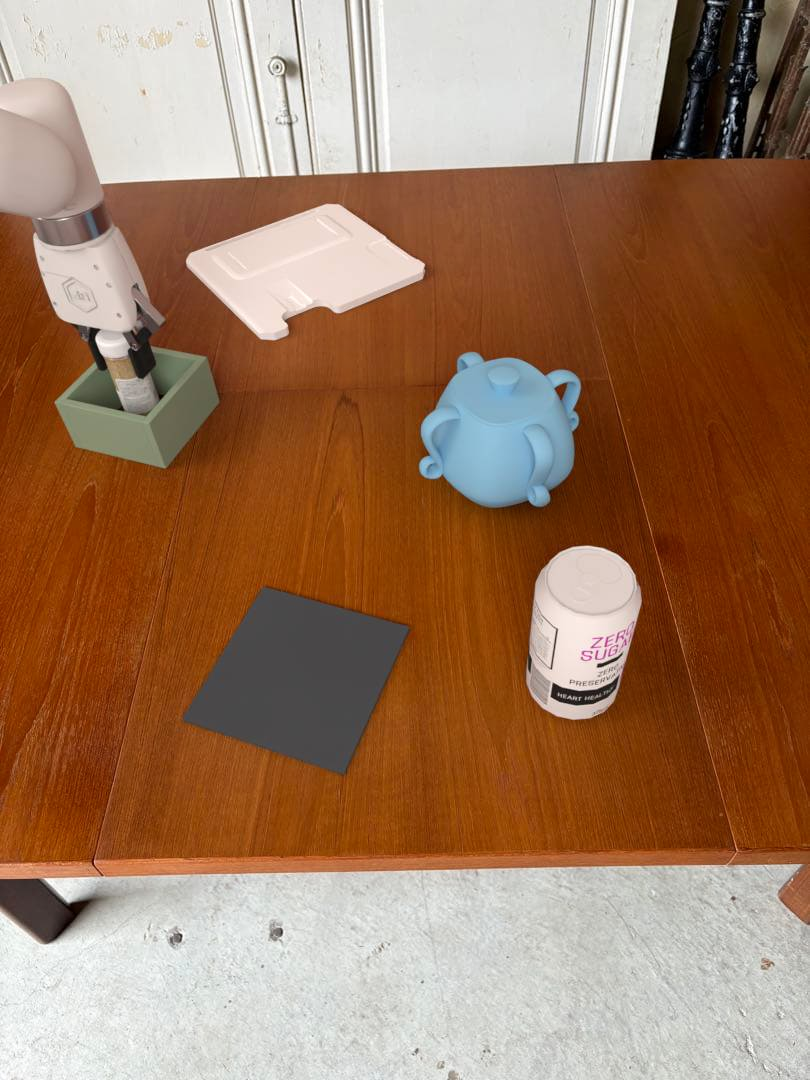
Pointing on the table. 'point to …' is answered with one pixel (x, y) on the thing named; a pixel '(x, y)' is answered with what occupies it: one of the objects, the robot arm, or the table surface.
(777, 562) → the table surface
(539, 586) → the supplement can
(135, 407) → the sprinkles bottle
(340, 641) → the mat
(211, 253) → the tray
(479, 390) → the decorative pot
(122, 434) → the crate
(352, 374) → the table surface
